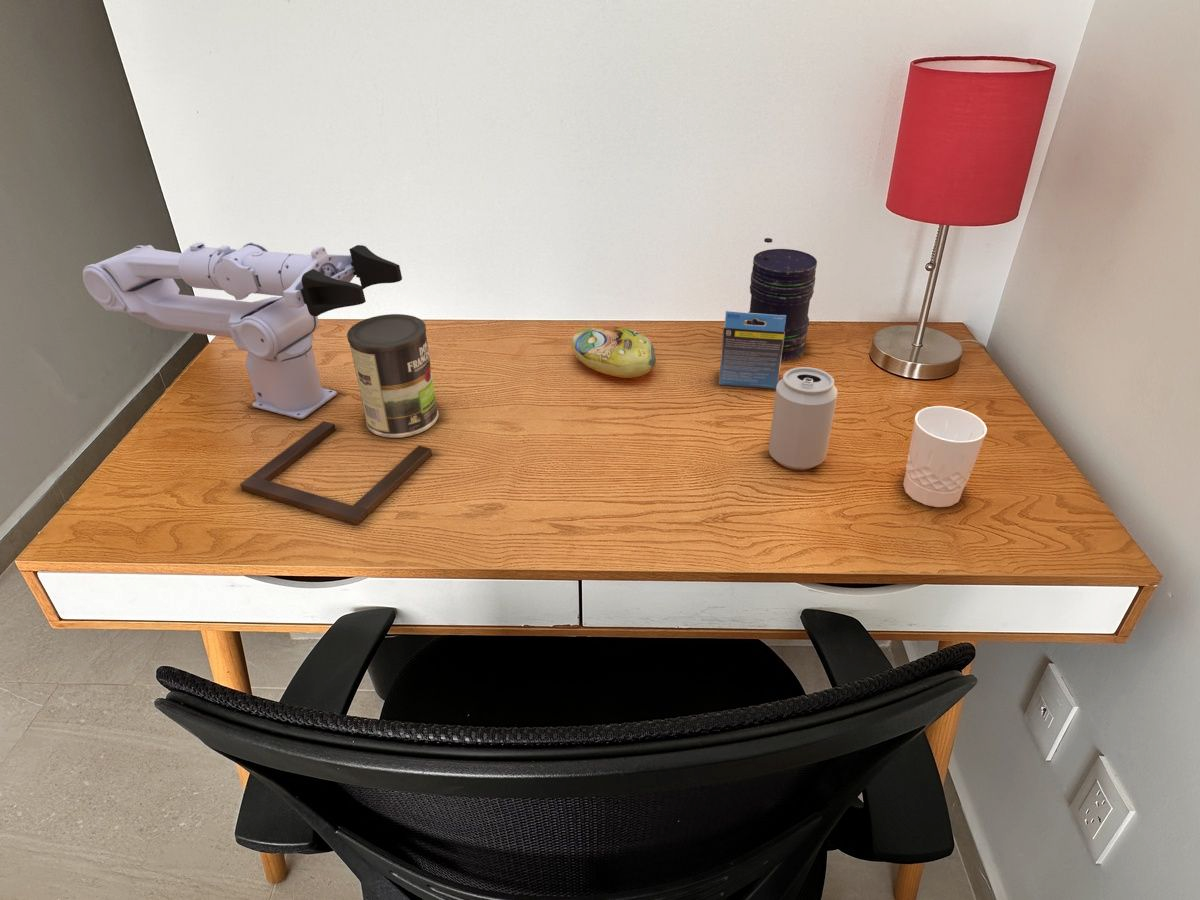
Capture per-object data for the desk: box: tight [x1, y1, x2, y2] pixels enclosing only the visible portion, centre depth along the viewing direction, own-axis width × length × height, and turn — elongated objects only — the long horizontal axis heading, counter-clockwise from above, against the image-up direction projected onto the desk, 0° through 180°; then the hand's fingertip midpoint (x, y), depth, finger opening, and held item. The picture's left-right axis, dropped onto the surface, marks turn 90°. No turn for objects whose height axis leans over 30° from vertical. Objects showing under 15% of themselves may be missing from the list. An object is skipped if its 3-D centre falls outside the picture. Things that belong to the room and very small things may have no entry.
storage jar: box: [745, 237, 818, 362], centre depth 126 cm, size 10×10×18 cm
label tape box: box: [718, 310, 786, 390], centre depth 118 cm, size 9×4×12 cm, turn 80°
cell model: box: [571, 325, 657, 379], centre depth 125 cm, size 11×8×15 cm
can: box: [768, 366, 838, 471], centre depth 102 cm, size 8×8×12 cm
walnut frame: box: [239, 420, 433, 526], centre depth 103 cm, size 18×16×1 cm
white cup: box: [902, 405, 988, 508], centre depth 96 cm, size 8×8×10 cm
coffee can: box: [346, 313, 440, 439], centre depth 110 cm, size 10×10×14 cm
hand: (381, 283), depth 100 cm, fingers open, 7 cm apart
